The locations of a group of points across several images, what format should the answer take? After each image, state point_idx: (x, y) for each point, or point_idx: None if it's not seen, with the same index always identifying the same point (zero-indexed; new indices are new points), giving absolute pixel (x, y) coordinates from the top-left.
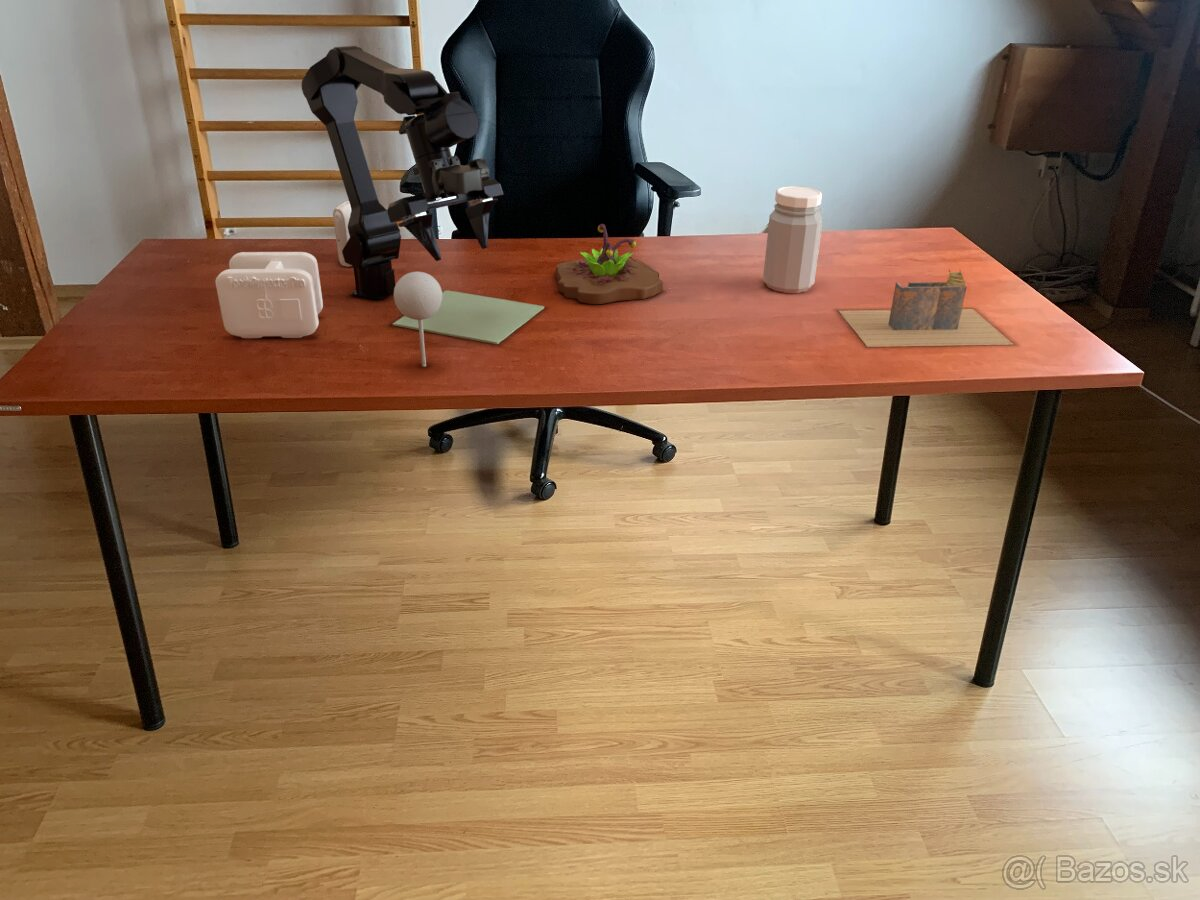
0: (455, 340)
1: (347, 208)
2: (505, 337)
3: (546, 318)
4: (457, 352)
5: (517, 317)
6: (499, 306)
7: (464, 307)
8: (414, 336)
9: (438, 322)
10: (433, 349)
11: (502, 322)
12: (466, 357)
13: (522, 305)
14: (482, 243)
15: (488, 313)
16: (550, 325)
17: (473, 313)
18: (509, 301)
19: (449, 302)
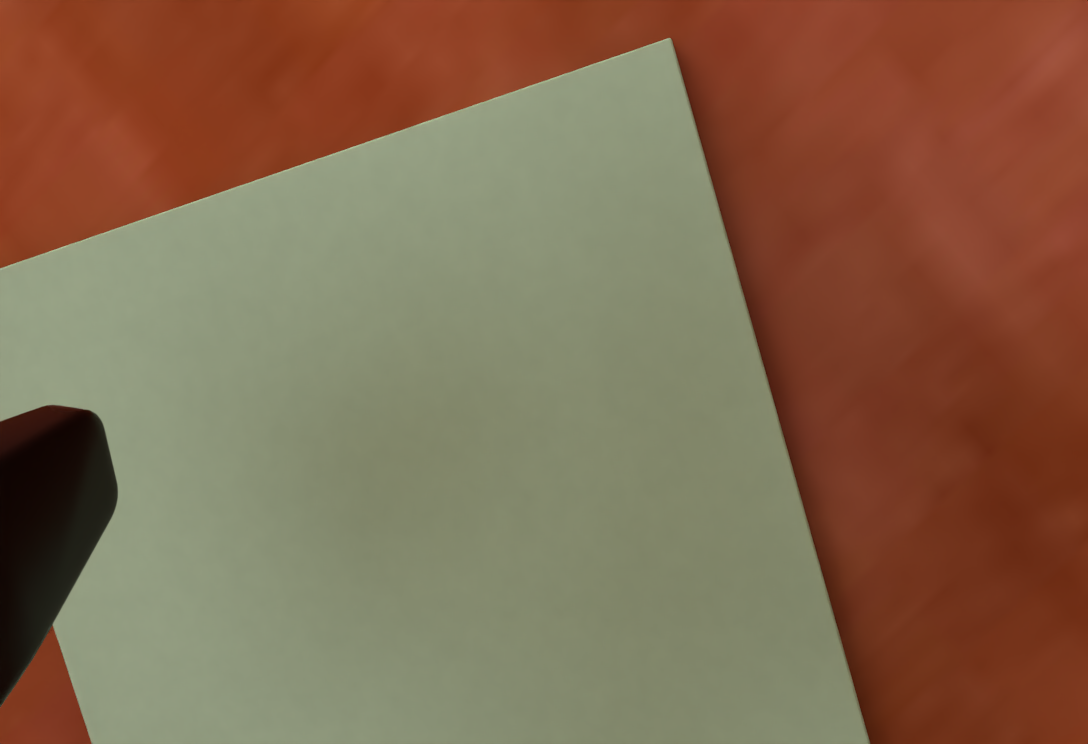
0: (822, 357)
1: None
2: (539, 83)
3: (70, 137)
4: (995, 168)
5: (215, 283)
6: (157, 538)
7: (339, 729)
8: (974, 663)
9: (680, 682)
10: (1075, 360)
11: (357, 300)
12: (1025, 37)
13: None
14: (54, 510)
15: (303, 508)
16: (141, 15)
17: (376, 596)
18: None
19: None
